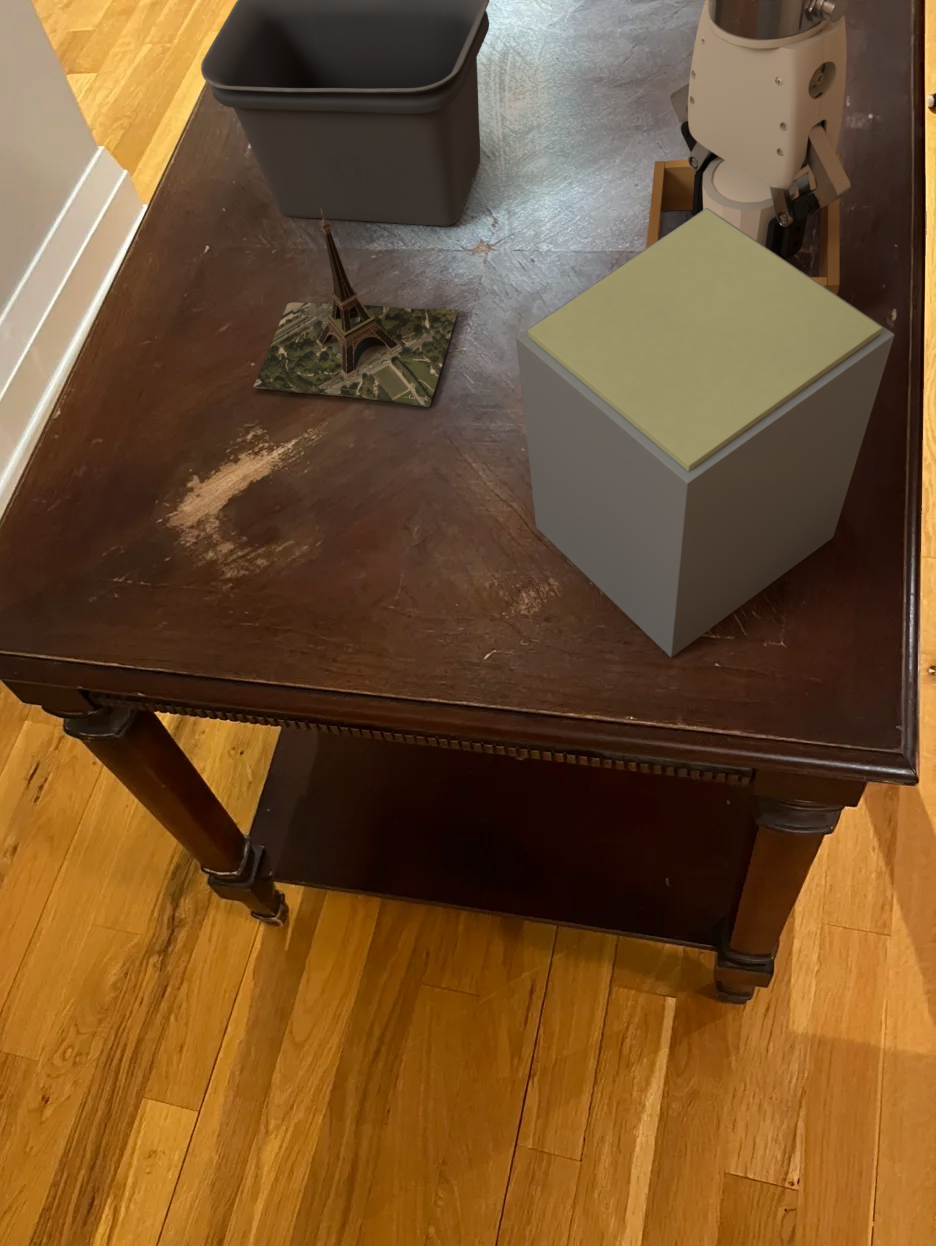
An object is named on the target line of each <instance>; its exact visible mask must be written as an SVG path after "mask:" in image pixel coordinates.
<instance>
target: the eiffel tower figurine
mask: <svg viewBox="0 0 936 1246" xmlns="http://www.w3.org/2000/svg"><path fill="white" fill-rule="evenodd" d="M320 210H321V213H322V209H321V208H320ZM322 217H323V213H322ZM319 225H320V228H321V230H322V231H323V232H322V233H323V236H324V240H325V245H326V250H327V255H328V260H329V266H330V270H331V276H332V277H331V278H332V285H333V292H332V293H331V296H332V297H333V303H332V302H331V303H330V302H329V303H325V302H294V301H287V304H286V307H285V309H284V311H283V314H282V316H281V319H280V321H279V324H278V326H277V329H276V331H275V334H274V336H273V338H272V341H271V343H270V345H269V347H268V350H267V353H266V355H265V357H264V360H263V363H262V365H261V366H260V370H259V372H258V375H257V376H256V379H255V381H254V384H253V386H252V389H262V390H273V391H281V392H287V393H296V394H297V393H298V394H309V395H323V396H324V395H325V396H335V397H346V398H347V397H348V398H356V399H365V400H376V401H382V402H392V403H397V404H403V405H411V406H418V407H427V408H429V407H431V404H432V400H433V397H434V394H435V391H436V388H437V384H438V381H439V378H440V374H441V371H442V367H443V364H444V360H445V357H446V354H447V351H448V347H449V343H450V339H451V336H452V332H453V328H454V325H455V322H456V318H457V315H458V313H459V309H442V308H441V309H437V308H435V309H434V308H409V307H397V306H385V305H383V306H382V305H371V304H363V303H362V302H361V301H360V300H359V298H358V293H357V292H356V291H355V289H353V288H352V286H351V283H350V280H349V278H348V276H347V273H346V271H345V267H344V266H343V262H342V260H341V257H340V255H339V252H338V248H337V246H336V243H335V239H334V237H333V233H332V231H331V229H332V226H331V224H330V222H329V221H328V219H324V217H323V219H321V221H320V222H319Z"/></svg>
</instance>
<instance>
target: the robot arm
mask: <svg viewBox="0 0 936 1246" xmlns="http://www.w3.org/2000/svg"><path fill="white" fill-rule="evenodd" d="M848 1H849V0H705V1H704V3H703V7H702V11H701V15H700V17H699V21H698V27H697V30H696V36H695V41H694V44H693V45H694V46H693V51H692V58H691V66H690V72H689V73H690V74H689V82H688V83H686V84H684V85H683V86H682V87H680V88H679V89H677V90H675V91H674V92H672V93H671V94H670V97H669V100H670V103H671V106H672V108H673V110H674V113H675V115H676V117H677V119H678V122H679V123H681V125H680V133H681V135H682V137H683V139H684V141H685V143H686V146H687V148H688V150H689V152H690V154H689V155H688V158H687V160H688V163H689V166H690V167H691V169H692V170H694V171H696V174H695V175H694V191H693V208H692V210H691V218H692V217H694V216H695V215H697V214H698V213H700V212H701V211H702V210H703V189H702V185H703V173H704V171H705V170H706V168H707V167H708V165H709V164H710V162H711V161H713V160H714V159H716V158H717V157H721V158H722V159H724V160H726V161H727V162H729V163H730V164H732V165H734V166H735V167H737V168H739V169H740V170H742V171H743V172H745V173H747V174H748V175H750V176H752V177H754V178H755V179H757V180H759V181H760V182H762V183H764V184H766V185H768V186H769V187H770V191H771V196H772V200H773V205H774V209H775V214H776V217H774V218H773V219H771V220H770V222H769V224H768V230H767V238H766V245H765V247H766V248H767V249H769V250H770V251H772V252H773V253H775V254H776V255H778V256H779V257H781V258H782V259H784V260H785V261H787V260H788V259H791V258H793V257H794V256H796V255H797V254H798V253H799V252H800V251H801V249H802V247H803V245H804V241H805V240H804V239H805V233H806V227H807V222H808V216H810V215H813V214H814V213H816V212H817V211H820V209H821V208H823V207H825V206H826V205H828V204H830V203H832V202H833V201H835V200H837V199H838V198H839V199H840V198H841V197H842V196H844V195H845V194H846V193H848V192H849V191H850V190H851V188H852V185H851V181H850V179H849V177H848V175H847V173H846V171H845V169H844V167H843V165H842V163H841V161H840V158H839V159H838V157H837V155H836V153H837V150H838V145H839V140H840V135H841V134H840V133H841V128H842V120H843V112H844V104H845V103H844V102H845V94H846V93H845V92H846V81H847V80H846V79H847V55H848V54H847V51H848V50H847V30H846V28H847V27H846V17H845V13H846V11H847V9H848V4H849V2H848ZM814 177H815V178H814ZM815 179H816V181H817V188H816V183H815ZM795 181H796V183H797V188H798V193H799V197H797V198H795V199H794V200H792V201H791V197H790V192H789V188H791V186H792V184H793V183H794V182H795Z"/></svg>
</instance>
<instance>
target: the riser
mask: <svg viewBox="0 0 936 1246" xmlns="http://www.w3.org/2000/svg"><path fill="white" fill-rule="evenodd" d="M706 209H708V208H705V209H704V210H706ZM704 210H702V211H701V212H703V211H704ZM708 210H709V211H711V210H710V209H708ZM701 212H700V213H701ZM711 212H712V213H714V212H713V211H711ZM700 213H698V214H697V215H699V214H700ZM714 214H715V215H717V214H716V213H714ZM697 215H695V216H694V217H696V216H697ZM717 216H718V217H720V216H719V215H717ZM694 217H692V216H691V218H689V219H687V220H686V221H685V222H684V223H682V224H680V225H679V226H677V227H676V228H675V229H673V230H672V231H670V232H668V233H667V234H666V235H664V236H663V237H660V240H662V239H663V238H665V237H666V236H668V235H669V234H671V233H672V232H673V231H675V230H676V229H678V228H679V227H681V226H682V225H684V224H685V223H687V222H688V221H690V220H691V219H693V218H694ZM720 218H721V219H723V218H722V217H720ZM723 220H724V221H726V220H725V219H723ZM726 222H727V223H729V222H728V221H726ZM729 224H730V225H732V224H731V223H729ZM732 226H733V225H732ZM733 227H735V226H733ZM735 228H736V227H735ZM736 229H738V228H736ZM738 230H739V229H738ZM739 231H740V232H742V231H741V230H739ZM742 233H743V234H745V233H744V232H742ZM745 235H746V236H748V235H747V234H745ZM748 237H749V238H751V237H750V236H748ZM751 239H752V240H754V239H753V238H751ZM660 240H658V241H657V242H659V241H660ZM754 241H755V242H757V241H756V240H754ZM657 242H655V243H654V244H656V243H657ZM757 243H758V244H760V243H759V242H757ZM654 244H652V245H651V246H653V245H654ZM760 245H761V246H763V245H762V244H760ZM651 246H649V247H648V248H650V247H651ZM763 247H764V248H766V247H765V246H763ZM648 248H647V249H648ZM647 249H646V248H645V249H644V250H642V251H641V252H639V253H638V254H636V255H635V256H633V257H632V258H630V259H629V260H627V261H626V262H625V263H622V265H620V266H619V267H616V269H614V270H613V271H611V272H610V273H608V274H607V275H605V276H604V277H602V278H601V279H599V280H598V281H596V282H595V283H594V284H592V285H591V286H589V287H588V288H586V289H585V290H583V291H581V292H580V293H578V294H577V295H575V296H574V297H573V298H571V299H570V300H568V301H567V302H565V303H564V304H562V305H561V306H560V307H558V308H557V309H555V310H554V311H552V312H551V313H549V314H547V316H545V317H544V318H542V319H540V320H539V321H537V322H536V323H535V324H533V325H531V326H530V327H529V328H527V329H526V330H524V331H523V332H521V333H520V334H518V335H517V336H516V337H515V340H516V341H515V342H516V343H515V344H516V351H517V359H518V361H517V362H518V369H519V379H520V388H521V398H522V399H521V400H522V408H523V417H524V427H525V435H526V446H527V454H528V465H529V475H530V483H531V492H532V502H533V511H534V520H535V521H534V522H535V528H536V529H537V531H539V532H540V533H541V534H543V536H544V537H545V538H546V539H547V540H548V541H550V543H552V544H553V545H554V546H555V547H556V549H558V550H559V551H560V552H561V553H562V554H563V555H564V556H565V557H566V558H567V559H568V560H569V561H570V562H571V563H572V564H573V565H574V566H576V568H577V569H579V570H580V571H581V573H582V574H584V575H585V576H586V577H587V578H588V579H589V580H590V581H591V582H592V583H593V584H594V585H595V586H596V587H597V588H598V589H599V590H600V591H601V592H602V593H603V594H605V596H607V598H609V600H611V601H612V602H613V603H614V604H615V605H616V606H617V607H618V608H619V609H620V610H621V611H622V612H623V614H625V615H626V616H627V617H628V618H629V619H630V620H631V621H632V622H633V623H634V624H635V625H637V626H638V628H639V629H641V631H643V633H645V634H646V635H647V636H648V637H649V638H650V639H651V640H652V641H653V642H654V643H655V644H656V645H657V646H658V647H659V648H660V649H661V650H662V651H663V652H665V654H667V656H669V657H670V658H673V657H674V656H676V655H677V654H678V653H680V652H681V651H682V650H684V649H685V648H686V647H688V646H689V645H690V644H692V643H693V642H695V641H696V640H698V638H700V637H701V636H703V635H704V634H705V633H707V632H708V631H709V630H711V629H712V628H713V627H715V626H716V625H717V624H719V623H720V622H721V621H723V620H724V619H725V618H727V617H728V616H730V615H731V614H733V612H735V611H736V610H738V609H739V608H740V607H742V606H743V605H744V604H745V603H748V601H750V600H751V599H752V598H754V597H755V596H757V595H758V594H759V593H760V592H762V591H763V590H764V589H766V588H767V587H769V586H770V585H771V584H772V583H774V582H775V581H777V579H779V578H781V577H782V576H783V575H785V574H786V573H788V571H791V569H793V568H794V567H795V566H796V565H798V564H799V563H801V562H803V561H804V560H805V559H806V558H807V557H809V556H811V554H813V553H814V552H816V551H817V550H818V549H819V548H821V547H822V546H823V545H825V544H826V543H828V542H829V541H831V540H832V539H833V538H834V536H835V533H836V529H837V527H838V524H839V520H840V516H841V513H842V510H843V506H844V503H845V501H846V500H845V499H846V496H847V493H848V489H849V487H850V483H851V480H852V476H853V473H854V470H855V467H856V463H857V460H858V456H859V454H860V451H861V447H862V444H863V441H864V438H865V435H866V431H867V427H868V423H869V421H870V418H871V413H872V411H873V409H874V408H873V407H874V404H875V401H876V398H877V395H878V391H879V389H880V388H879V387H880V384H881V381H882V379H883V374H884V371H885V367H886V364H887V361H888V358H889V355H890V351H891V348H892V344H893V341H894V338H895V333H893V332H892V331H891V330H889V329H887V328H886V327H884V326H883V325H881V324H880V323H879V322H877V321H875V320H874V319H873V318H871V317H869V316H868V315H867V314H865V313H863V312H862V311H861V310H859V309H858V308H856V307H855V306H853V305H852V304H851V303H849V302H847V301H846V300H845V299H843V298H842V297H840V296H839V295H838V294H837V295H836V294H834V293H833V292H831V291H830V290H828V289H827V288H825V287H824V286H822V285H821V284H819V283H818V282H816V281H815V280H813V279H812V278H810V277H811V276H809V275H808V274H806V273H805V272H803V271H801V270H800V269H798V268H797V267H796V266H795V265H793V264H791V263H790V262H788V261H787V260H784V259H782V258H781V257H779V256H778V255H776V254H775V253H773V252H772V251H770V250H769V249H767V248H766V249H767V250H769V251H770V252H772V253H773V254H774V255H776V256H777V257H779V258H780V259H782V260H783V261H785V262H786V263H788V264H789V265H791V266H792V267H794V268H795V269H797V270H798V271H800V272H801V273H803V274H804V275H805V276H807V277H808V278H810V279H811V280H813V281H814V282H816V283H817V284H819V285H820V286H822V287H823V288H825V289H826V290H828V291H829V292H831V293H832V294H834V295H835V296H836V297H838V298H839V299H841V300H842V301H844V302H845V303H847V304H848V305H850V306H851V307H853V308H854V309H856V310H857V311H859V312H860V313H862V314H863V315H865V316H866V317H868V318H869V319H870V320H872V321H873V322H875V323H876V324H878V325H879V326H881V327H882V329H881V333H880V335H878V336H877V337H875V338H874V339H873V340H871V341H870V342H868V343H867V344H866V345H864V346H863V347H862V348H860V349H859V350H857V351H856V352H855V353H853V354H852V355H850V356H849V357H848V358H846V359H845V360H843V361H842V362H841V363H839V364H838V365H836V366H835V367H834V368H832V369H831V370H829V371H828V372H827V373H825V374H824V375H822V376H821V377H820V378H818V379H817V380H816V381H814V382H813V383H811V384H810V385H809V386H807V387H806V388H804V389H803V390H802V391H800V392H799V393H797V394H796V395H795V396H793V397H792V398H790V399H789V400H788V401H786V402H785V403H783V404H782V405H781V406H779V407H778V408H777V409H775V410H774V411H772V412H771V413H770V414H768V415H767V416H765V417H764V418H763V419H761V420H760V421H758V422H757V423H756V424H754V425H753V426H751V427H750V428H749V429H747V430H746V431H744V432H743V433H742V434H740V435H739V436H737V437H736V438H735V439H733V440H732V441H731V442H729V443H728V444H726V445H725V446H724V447H722V448H721V449H719V450H718V451H717V452H715V453H714V454H712V455H711V456H710V457H708V458H707V459H705V460H704V461H703V462H701V463H700V464H698V465H697V466H696V467H694V468H693V469H692V470H690V471H687V470H686V469H685V468H684V467H682V466H681V465H680V464H679V463H678V462H677V461H675V460H674V459H673V458H672V457H671V456H669V455H668V454H667V453H666V452H665V451H664V450H662V449H661V448H660V447H659V446H658V445H656V444H655V443H654V442H653V441H652V440H650V439H649V438H648V437H647V436H646V435H645V434H643V433H642V432H641V431H640V430H639V429H637V428H636V427H635V426H634V425H633V424H631V423H630V422H629V421H628V420H627V419H626V418H624V417H623V416H622V415H621V414H620V413H618V412H617V411H616V410H615V409H614V408H613V407H611V406H610V405H609V404H608V403H607V402H605V401H604V400H603V399H602V398H601V397H599V396H598V395H597V394H596V393H595V392H594V391H592V390H591V389H590V388H589V387H588V386H586V385H585V384H584V383H583V382H582V381H581V380H579V379H578V378H577V377H576V376H575V375H573V374H572V373H571V372H570V371H569V370H567V369H566V368H565V367H564V366H563V365H562V364H560V363H559V362H558V361H557V360H556V359H554V358H553V357H552V356H551V355H550V354H548V353H547V352H546V351H545V350H544V349H543V348H541V347H540V346H539V345H538V344H537V343H535V342H534V341H533V340H532V339H531V338H530V337H529V336H528V330H529V329H531V328H532V327H534V326H535V325H537V324H538V323H540V322H541V321H542V320H544V319H545V318H547V317H548V316H550V315H551V314H553V313H554V312H556V311H557V310H559V309H560V308H562V307H563V306H565V305H566V304H568V303H569V302H570V301H572V300H573V299H575V298H576V297H578V296H579V295H581V294H582V293H584V292H585V291H587V290H588V289H590V288H591V287H593V286H594V285H595V284H597V283H598V282H600V281H601V280H603V279H604V278H606V277H607V276H609V275H610V274H612V273H613V272H615V271H616V270H618V269H619V268H621V267H622V266H623V265H625V264H626V263H628V262H629V261H631V260H632V259H634V258H635V257H637V256H638V255H640V254H641V253H643V252H644V251H646V250H647Z"/></svg>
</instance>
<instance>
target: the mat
mask: <svg viewBox="0 0 936 1246" xmlns="http://www.w3.org/2000/svg"><path fill="white" fill-rule="evenodd" d="M690 219H691V218H690ZM687 221H688V220H687ZM684 223H685V222H684ZM681 225H682V224H681ZM678 227H679V226H678ZM675 229H676V228H675ZM675 229H674V230H675ZM672 231H673V230H672ZM672 231H671V232H672ZM668 234H669V233H668ZM665 236H666V235H665ZM662 238H663V237H662ZM643 251H644V250H643ZM640 253H641V252H640ZM637 255H638V254H637ZM634 257H635V256H634ZM631 259H632V258H631ZM628 261H629V260H628ZM785 261H786V260H785ZM785 261H783V260H782V259H780V258H779V257H777V256H776V255H774V254H773V253H772V252H770V251H769V250H767V249H766V248H764V247H763V246H761V245H760V244H758V243H757V242H755V241H754V240H752V239H751V238H749V237H748V236H746V235H745V234H743V233H742V232H740V231H739V230H738V229H736V228H735V227H733V226H732V225H730V224H729V223H727V222H726V221H724V220H723V219H721V218H720V217H718V216H717V215H715V214H714V213H712V212H711V211H709V210H708V209H706V210H704V211H703V212H701V213H700V214H699V215H697V216H696V217H694V218H693V219H691V220H690V221H688V222H687V223H685V224H684V225H682V226H681V227H679V228H678V229H676V230H675V231H673V232H672V233H671V234H669V235H668V236H666V237H665V238H663V239H662V240H660V241H659V242H657V243H656V244H654V245H653V246H651V247H650V248H648V249H647V250H646V251H644V252H643V253H641V254H640V255H638V256H637V257H635V258H634V259H632V260H631V261H629V262H628V263H626V262H625V263H626V264H625V265H623V264H622V265H623V266H622V267H621V268H619V267H618V268H619V269H618V270H616V269H615V270H616V271H615V272H613V271H612V272H613V273H612V274H610V273H609V274H610V275H609V276H607V275H606V276H607V277H606V278H604V277H603V278H604V279H603V280H601V279H600V280H601V281H600V282H598V281H597V282H598V283H597V284H595V283H594V284H595V285H594V284H593V285H594V286H593V287H591V286H590V287H591V288H590V289H588V288H587V289H588V290H587V291H585V290H584V291H585V292H584V293H582V292H581V293H582V294H581V295H579V294H578V295H579V296H578V297H576V296H575V297H576V298H575V299H573V298H572V299H573V300H572V301H570V300H569V301H570V302H569V303H568V304H566V303H565V304H566V305H565V306H563V305H562V306H563V307H562V308H560V307H559V308H560V309H559V310H557V309H556V310H557V311H556V312H554V311H553V312H554V313H553V314H551V313H550V314H551V315H550V316H548V315H547V316H548V317H547V318H545V317H544V318H545V319H544V320H542V319H541V320H542V321H541V320H540V321H541V322H540V323H538V322H537V323H538V324H537V325H535V324H534V325H535V326H534V327H532V326H531V327H532V328H531V329H529V328H528V329H529V330H528V336H529V337H530V338H531V339H532V340H533V341H534V342H535V343H537V344H538V345H539V346H540V347H541V348H543V349H544V350H545V351H546V352H547V353H548V354H550V355H551V356H552V357H553V358H554V359H556V360H557V361H558V362H559V363H560V364H562V365H563V366H564V367H565V368H566V369H567V370H569V371H570V372H571V373H572V374H573V375H575V376H576V377H577V378H578V379H579V380H581V381H582V382H583V383H584V384H585V385H586V386H588V387H589V388H590V389H591V390H592V391H594V392H595V393H596V394H597V395H598V396H599V397H601V398H602V399H603V400H604V401H605V402H607V403H608V404H609V405H610V406H611V407H613V408H614V409H615V410H616V411H617V412H618V413H620V414H621V415H622V416H623V417H624V418H626V419H627V420H628V421H629V422H630V423H631V424H633V425H634V426H635V427H636V428H637V429H639V430H640V431H641V432H642V433H643V434H645V435H646V436H647V437H648V438H649V439H650V440H652V441H653V442H654V443H655V444H656V445H658V446H659V447H660V448H661V449H662V450H664V451H665V452H666V453H667V454H668V455H669V456H671V457H672V458H673V459H674V460H675V461H677V462H678V463H679V464H680V465H681V466H682V467H684V468H685V469H686V470H687V471H690V470H692V469H693V468H694V467H696V466H697V465H698V464H700V463H701V462H703V461H704V460H705V459H707V458H708V457H710V456H711V455H712V454H714V453H715V452H717V451H718V450H719V449H721V448H722V447H724V446H725V445H726V444H728V443H729V442H731V441H732V440H733V439H735V438H736V437H737V436H739V435H740V434H742V433H743V432H744V431H746V430H747V429H749V428H750V427H751V426H753V425H754V424H756V423H757V422H758V421H760V420H761V419H763V418H764V417H765V416H767V415H768V414H770V413H771V412H772V411H774V410H775V409H777V408H778V407H779V406H781V405H782V404H783V403H785V402H786V401H788V400H789V399H790V398H792V397H793V396H795V395H796V394H797V393H799V392H800V391H802V390H803V389H804V388H806V387H807V386H809V385H810V384H811V383H813V382H814V381H816V380H817V379H818V378H820V377H821V376H822V375H824V374H825V373H827V372H828V371H829V370H831V369H832V368H834V367H835V366H836V365H838V364H839V363H841V362H842V361H843V360H845V359H846V358H848V357H849V356H850V355H852V354H853V353H855V352H856V351H857V350H859V349H860V348H862V347H863V346H864V345H866V344H867V343H868V342H870V341H871V340H873V339H874V338H875V337H877V336H878V335H880V333H881V329H882V327H881V326H882V325H881V326H879V325H878V324H879V323H878V324H876V323H875V322H876V321H875V322H873V321H872V320H873V319H872V320H870V319H869V318H868V317H869V316H868V317H866V316H865V315H866V314H865V315H863V314H862V313H863V312H862V313H860V312H859V311H860V310H859V311H857V310H856V309H857V308H856V309H854V308H853V307H854V306H853V307H851V306H850V305H851V304H850V305H848V304H847V303H848V302H847V303H845V302H844V301H845V300H844V301H842V300H841V299H842V298H841V299H839V298H838V297H839V296H838V297H836V296H835V295H834V294H832V293H831V292H829V291H828V290H826V289H825V288H823V287H822V286H820V285H819V284H817V283H816V282H814V281H813V280H811V279H810V278H808V277H807V276H808V275H807V276H805V275H804V274H805V273H804V272H803V273H804V274H803V273H801V272H802V271H801V270H800V271H801V272H800V271H798V270H797V269H798V268H797V269H795V268H794V267H795V266H794V267H792V266H791V265H792V264H791V265H789V264H788V263H789V262H788V263H786V262H785Z"/></svg>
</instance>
